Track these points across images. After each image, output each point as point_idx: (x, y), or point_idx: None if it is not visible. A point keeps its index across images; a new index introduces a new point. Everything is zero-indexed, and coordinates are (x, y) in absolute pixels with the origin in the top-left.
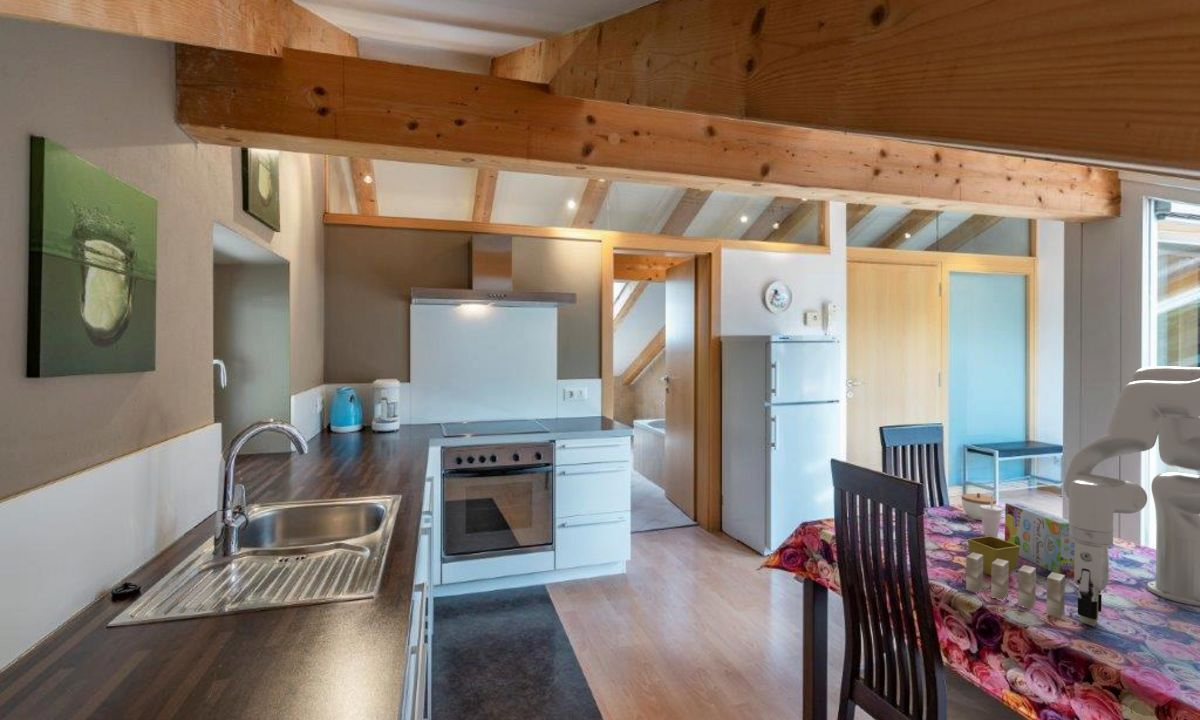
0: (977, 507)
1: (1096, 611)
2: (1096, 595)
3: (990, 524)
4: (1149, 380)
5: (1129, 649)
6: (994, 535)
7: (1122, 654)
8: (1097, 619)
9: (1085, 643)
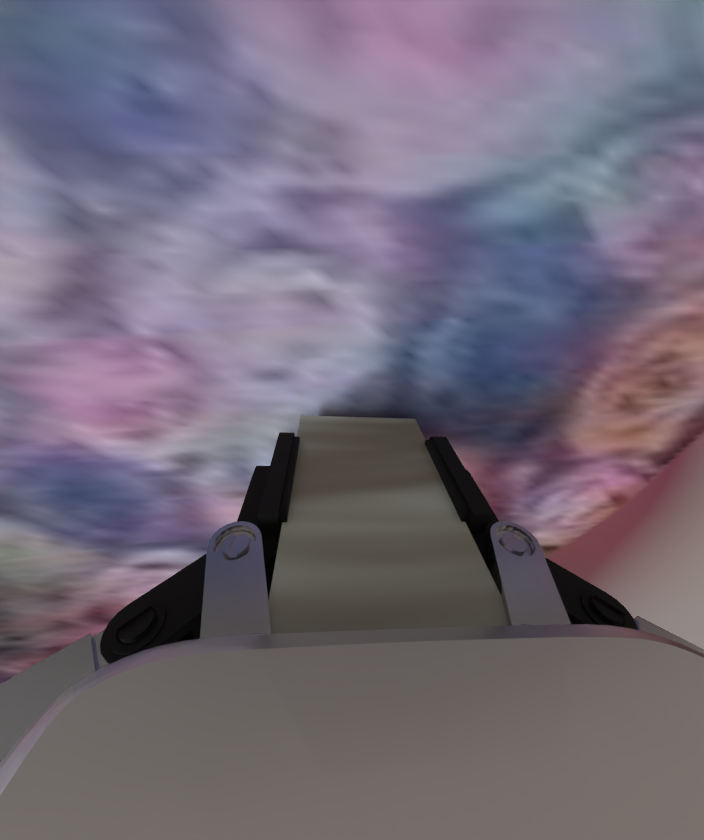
0: None
1: (462, 466)
2: (387, 545)
3: None
4: None
5: (583, 270)
6: None
7: (663, 296)
8: (326, 419)
9: (600, 420)
